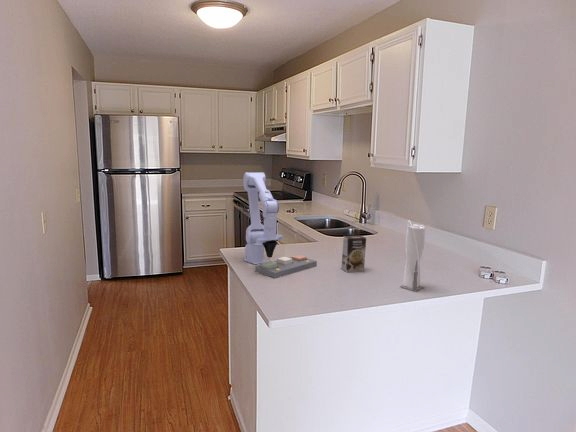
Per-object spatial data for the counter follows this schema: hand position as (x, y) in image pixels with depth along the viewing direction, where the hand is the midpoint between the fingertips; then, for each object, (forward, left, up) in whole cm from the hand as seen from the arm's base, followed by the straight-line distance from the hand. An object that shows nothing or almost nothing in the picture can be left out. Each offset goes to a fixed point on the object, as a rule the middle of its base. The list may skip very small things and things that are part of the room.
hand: (269, 256), depth 181 cm
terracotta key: (0, +20, -7) cm, 21 cm away
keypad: (+1, +10, -7) cm, 12 cm away
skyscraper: (+53, +31, -7) cm, 62 cm away
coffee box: (+23, +32, -7) cm, 40 cm away
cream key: (0, +10, -6) cm, 12 cm away
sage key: (0, 0, -6) cm, 6 cm away
